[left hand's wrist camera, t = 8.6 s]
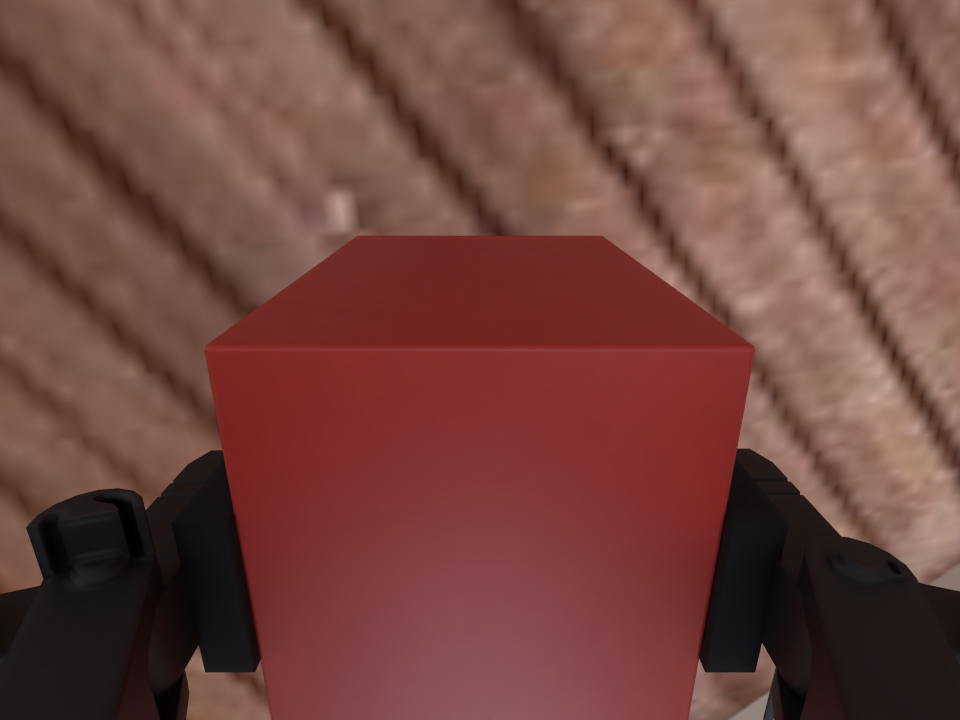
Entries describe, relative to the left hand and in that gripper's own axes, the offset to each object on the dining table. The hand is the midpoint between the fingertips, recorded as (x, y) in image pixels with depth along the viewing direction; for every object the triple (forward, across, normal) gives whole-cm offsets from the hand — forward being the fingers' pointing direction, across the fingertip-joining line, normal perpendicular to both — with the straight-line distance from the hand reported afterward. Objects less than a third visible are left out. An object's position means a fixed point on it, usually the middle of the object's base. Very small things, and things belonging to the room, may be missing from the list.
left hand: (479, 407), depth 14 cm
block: (+3, 0, 0) cm, 3 cm away
